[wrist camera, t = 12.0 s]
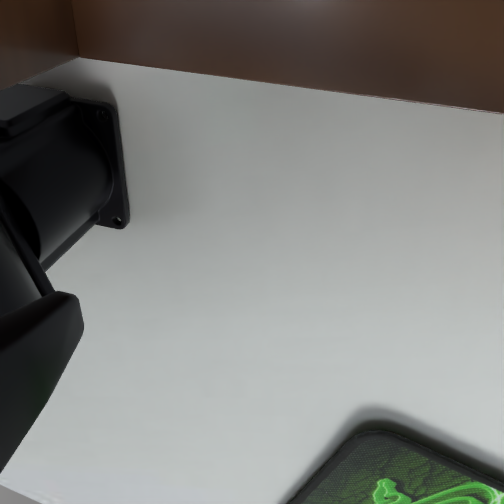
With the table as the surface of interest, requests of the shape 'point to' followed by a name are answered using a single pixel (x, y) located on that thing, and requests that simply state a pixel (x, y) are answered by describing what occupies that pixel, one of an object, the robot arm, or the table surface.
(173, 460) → the table surface
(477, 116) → the table surface
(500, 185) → the table surface
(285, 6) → the shelf
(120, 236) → the table surface
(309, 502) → the mouse mat
